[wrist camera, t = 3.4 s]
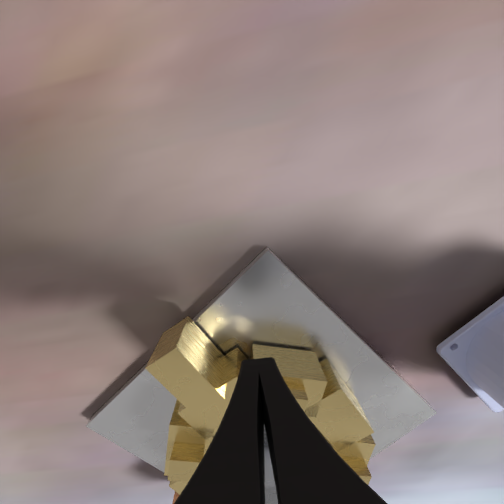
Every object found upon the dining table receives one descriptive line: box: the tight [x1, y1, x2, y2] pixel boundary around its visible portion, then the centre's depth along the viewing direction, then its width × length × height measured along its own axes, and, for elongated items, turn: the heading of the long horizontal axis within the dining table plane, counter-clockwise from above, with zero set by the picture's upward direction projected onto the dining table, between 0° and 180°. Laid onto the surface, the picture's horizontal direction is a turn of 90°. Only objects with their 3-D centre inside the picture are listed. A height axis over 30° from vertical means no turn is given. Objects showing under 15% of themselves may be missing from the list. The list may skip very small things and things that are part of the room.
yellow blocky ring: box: [145, 316, 376, 495], centre depth 16 cm, size 18×13×4 cm
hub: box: [86, 247, 436, 504], centre depth 17 cm, size 18×18×4 cm
